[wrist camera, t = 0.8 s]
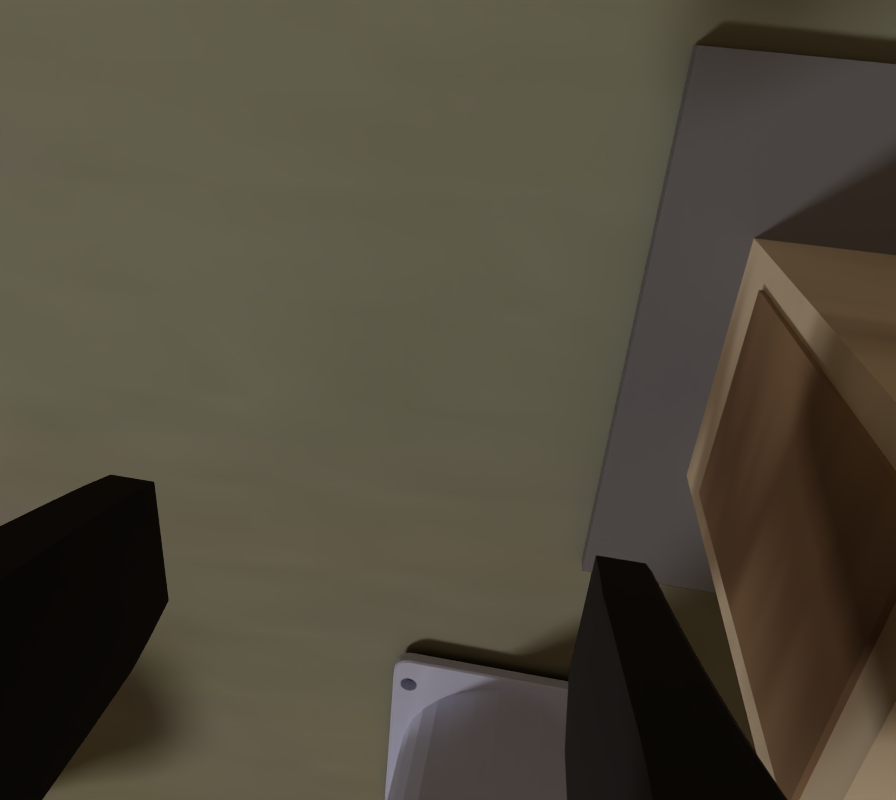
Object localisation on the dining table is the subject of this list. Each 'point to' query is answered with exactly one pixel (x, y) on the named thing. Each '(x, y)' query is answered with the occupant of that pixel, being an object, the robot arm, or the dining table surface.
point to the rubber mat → (732, 265)
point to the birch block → (808, 514)
